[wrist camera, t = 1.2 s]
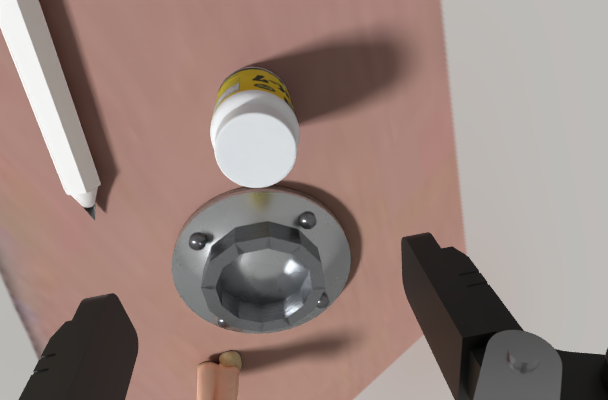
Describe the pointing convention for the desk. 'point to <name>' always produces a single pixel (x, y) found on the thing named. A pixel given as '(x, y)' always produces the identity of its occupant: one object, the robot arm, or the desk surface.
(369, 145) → the desk surface
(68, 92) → the white pencil
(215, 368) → the grandmother figurine
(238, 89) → the supplement bottle
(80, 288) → the desk surface
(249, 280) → the hub plate
